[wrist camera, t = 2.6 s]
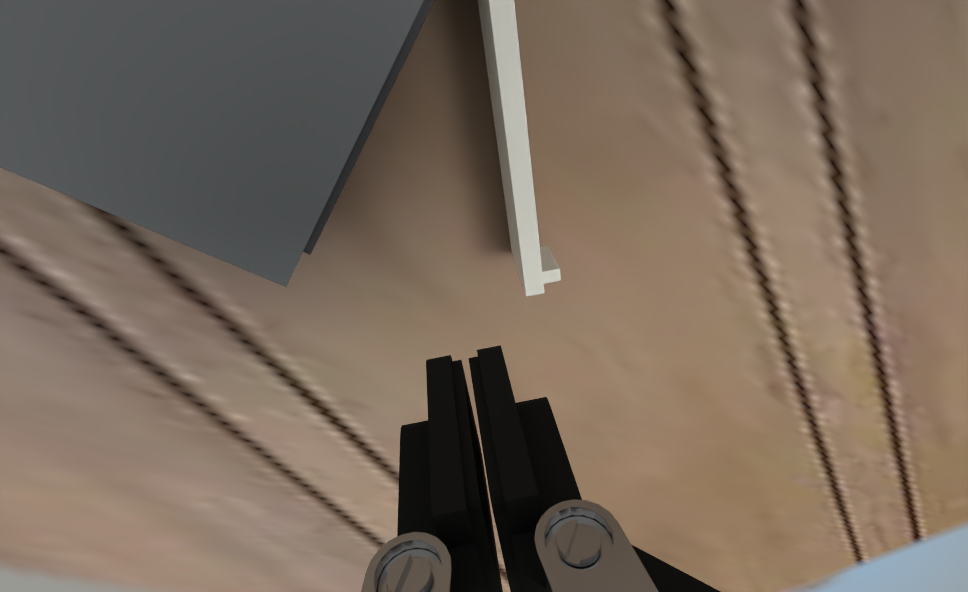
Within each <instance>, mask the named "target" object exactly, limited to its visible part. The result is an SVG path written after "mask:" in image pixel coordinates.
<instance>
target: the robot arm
mask: <svg viewBox="0 0 968 592" xmlns="http://www.w3.org/2000/svg"><path fill="white" fill-rule="evenodd" d="M477 353H478V357H473V358H469V364H470V370H471V377H472V383H473V389H474V396H475V402H476V409H477V415H478V422H479V428H480V434H481V441H482V447H483V454H484V460H485V467H486V473H487V479H488V486H489V492H490V498H491V503H492V508H493V513H494V518H495V522H496V527H497V531H498V536H499V541H500V545H501V550H502V554H503V559H504V563H505V568H506V572H507V577H508V581H509V586H510V590H511V592H720V591H718V590H716V589H714V588H712V587H711V586H709V585H707V584H705V583H703V582H701V581H699V580H697V579H695V578H694V577H692V576H690V575H688V574H686V573H684V572H682V571H680V570H678V569H676V568H675V567H673V566H671V565H669V564H667V563H665V562H663V561H661V560H659V559H658V558H656V557H654V556H652V555H650V554H648V553H646V552H644V551H642V550H640V549H639V548H637V547H635V546H633V545H631V543H630V542H629V540H628V538H627V537H626V535H625V533H624V531H623V530H622V528H621V526H620V525H619V523H618V522H617V520H616V519H615V518H614V517H613V515H612V514H611V513H610V512H609V511H608V510H606V509H605V508H603V507H602V506H600V505H599V504H596V503H593V502H590V501H587V500H582V499H581V496H580V493H579V490H578V487H577V484H576V481H575V478H574V475H573V472H572V469H571V466H570V463H569V460H568V457H567V454H566V451H565V448H564V445H563V442H562V439H561V437H560V434H559V431H558V428H557V425H556V422H555V419H554V416H553V413H552V410H551V407H550V404H549V401H548V399H547V397H544V398H539V399H534V400H529V401H523V402H518V403H515V400H514V396H513V392H512V388H511V384H510V380H509V376H508V372H507V368H506V364H505V360H504V356H503V352H502V349H501V346H495V347H490V348H485V349H480V350H477ZM426 370H427V398H428V421H423V422H418V423H413V424H408V425H403V426H402V427H401V434H400V467H399V502H398V537H396V538H394V539H392V540H390V541H388V542H387V543H386V544H385V545H384V546H383V547H381V548H380V549H379V550H378V551H377V553H376V554H375V556H374V557H373V558H372V560H371V561H370V563H369V566H368V569H367V571H366V574H365V578H364V582H363V586H362V591H361V592H503V590H502V584H501V577H500V571H499V564H498V557H497V551H496V544H495V538H494V531H493V525H492V518H491V511H490V505H489V498H488V492H487V485H486V478H485V472H484V465H483V459H482V453H481V448H480V443H479V438H478V434H477V429H476V425H475V420H474V416H473V411H472V406H471V402H470V397H469V393H468V388H467V384H466V379H465V374H464V370H463V365H462V361H461V360H458V361H452V358H451V355H449V356H444V357H439V358H434V359H429V360H427V361H426Z"/></svg>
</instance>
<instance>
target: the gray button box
mask: <svg viewBox="0 0 968 592" xmlns="http://www.w3.org/2000/svg"><path fill="white" fill-rule="evenodd" d="M434 1H435V0H0V167H1V168H3V169H6V170H8V171H11V172H13V173H15V174H18V175H20V176H22V177H25V178H27V179H30V180H32V181H34V182H37V183H39V184H42V185H44V186H46V187H49V188H51V189H53V190H56V191H58V192H61V193H63V194H65V195H68V196H70V197H73V198H75V199H77V200H80V201H82V202H85V203H87V204H89V205H92V206H94V207H96V208H99V209H101V210H104V211H106V212H108V213H111V214H113V215H116V216H118V217H120V218H123V219H125V220H127V221H130V222H132V223H135V224H137V225H139V226H142V227H144V228H147V229H149V230H151V231H154V232H156V233H158V234H161V235H163V236H166V237H168V238H170V239H173V240H175V241H178V242H180V243H182V244H185V245H187V246H190V247H192V248H194V249H197V250H199V251H201V252H204V253H206V254H209V255H211V256H213V257H216V258H218V259H221V260H223V261H225V262H228V263H230V264H232V265H235V266H237V267H240V268H242V269H244V270H247V271H249V272H252V273H254V274H256V275H259V276H261V277H263V278H266V279H268V280H271V281H273V282H275V283H278V284H280V285H283V286H285V287H286V286H287V284H288V282H289V280H290V277H291V275H292V273H293V271H294V269H295V267H296V265H297V263H298V261H299V259H300V257H301V255H302V253H303V252H305V253H307V254H311V252H312V250H313V248H314V246H315V244H316V242H317V240H318V238H319V236H320V234H321V232H322V230H323V228H324V226H325V223H326V221H327V219H328V217H329V215H330V213H331V211H332V209H333V207H334V205H335V203H336V201H337V199H338V197H339V195H340V193H341V191H342V189H343V187H344V185H345V183H346V181H347V178H348V176H349V174H350V172H351V170H352V168H353V166H354V164H355V162H356V160H357V158H358V156H359V154H360V152H361V150H362V148H363V146H364V144H365V142H366V140H367V138H368V136H369V133H370V131H371V129H372V127H373V125H374V123H375V121H376V119H377V117H378V115H379V113H380V111H381V109H382V107H383V105H384V103H385V101H386V99H387V97H388V95H389V93H390V91H391V88H392V86H393V84H394V82H395V80H396V78H397V76H398V74H399V72H400V70H401V68H402V66H403V64H404V62H405V60H406V58H407V56H408V54H409V52H410V50H411V48H412V46H413V43H414V41H415V39H416V37H417V35H418V33H419V31H420V29H421V27H422V25H423V23H424V21H425V19H426V17H427V15H428V13H429V11H430V9H431V7H432V5H433V3H434Z"/></svg>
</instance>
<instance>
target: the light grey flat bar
mask: <svg viewBox="0 0 968 592" xmlns="http://www.w3.org/2000/svg"><path fill="white" fill-rule="evenodd" d="M478 7H479V14H480V21H481V29H482V36H483V44H484V51H485V58H486V66H487V73H488V80H489V88H490V95H491V102H492V110H493V117H494V124H495V132H496V139H497V147H498V154H499V161H500V169H501V176H502V183H503V191H504V198H505V205H506V213H507V220H508V227H509V235H510V242H511V249H512V256H513V259H514V262H515V265H516V268H517V271H518V274H519V277H520V280H521V283H522V286H523V288H524V291H525V294H526V296H532V295H537V294H543V293H544V283H550V282H555V281H561V276H560V268H559V266H558V264H557V262H556V260H555V258H554V256H553V254H552V252H551V250H550V248H549V246H543V247H540V245H539V235H538V225H537V216H536V206H535V197H534V187H533V177H532V168H531V158H530V148H529V139H528V129H527V120H526V110H525V100H524V91H523V81H522V71H521V62H520V52H519V43H518V33H517V23H516V14H515V4H514V0H478Z"/></svg>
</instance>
